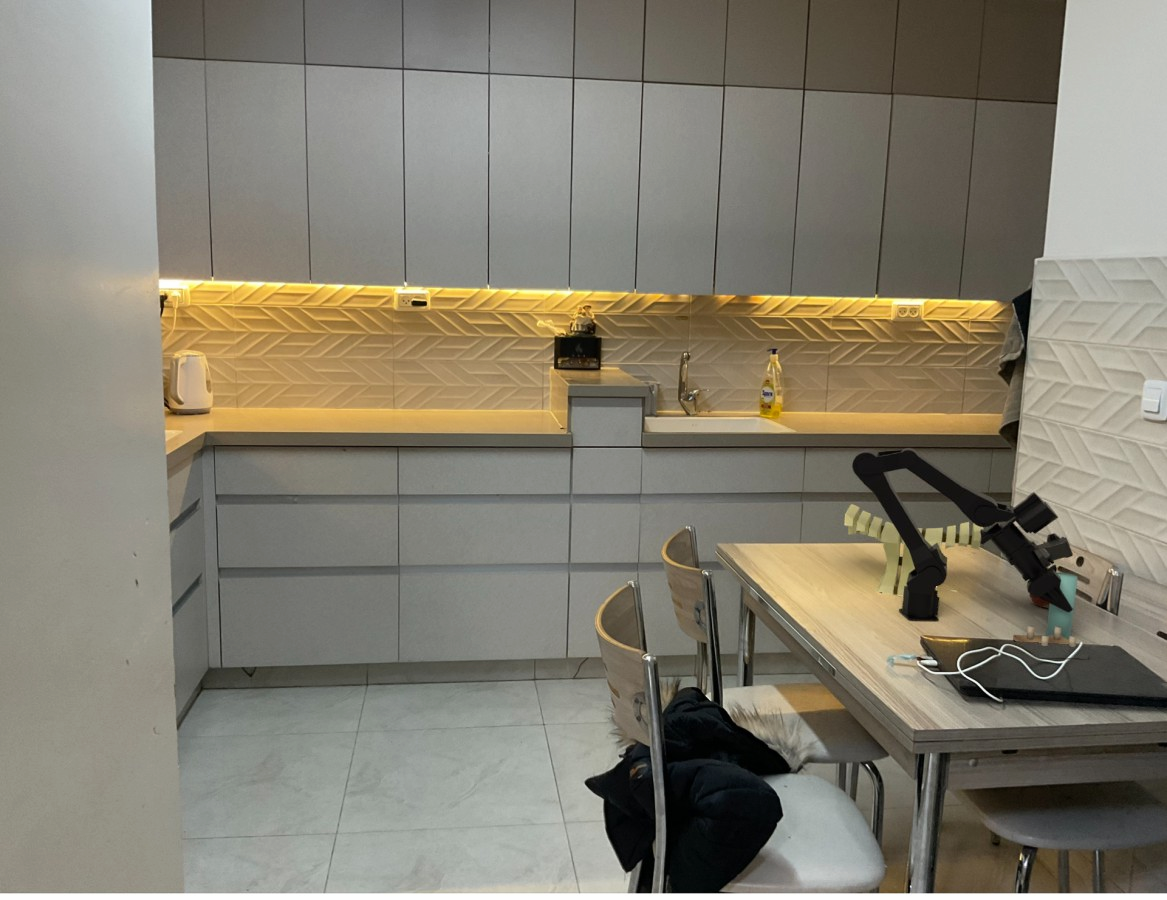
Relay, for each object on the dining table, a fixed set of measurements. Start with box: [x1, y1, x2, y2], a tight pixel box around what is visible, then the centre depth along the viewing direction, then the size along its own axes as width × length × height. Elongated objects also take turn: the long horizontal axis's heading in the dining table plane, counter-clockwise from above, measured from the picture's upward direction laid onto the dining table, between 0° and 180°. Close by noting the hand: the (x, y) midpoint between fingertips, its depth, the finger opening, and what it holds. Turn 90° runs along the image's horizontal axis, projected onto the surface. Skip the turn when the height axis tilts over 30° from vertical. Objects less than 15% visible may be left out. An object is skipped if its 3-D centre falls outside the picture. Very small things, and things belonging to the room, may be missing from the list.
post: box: [1045, 572, 1078, 640], centre depth 199 cm, size 4×4×13 cm
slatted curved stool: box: [843, 503, 984, 596], centre depth 230 cm, size 30×16×18 cm, turn 69°
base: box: [1012, 625, 1077, 647], centre depth 192 cm, size 10×10×4 cm
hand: (1069, 606), depth 199 cm, fingers open, 6 cm apart
